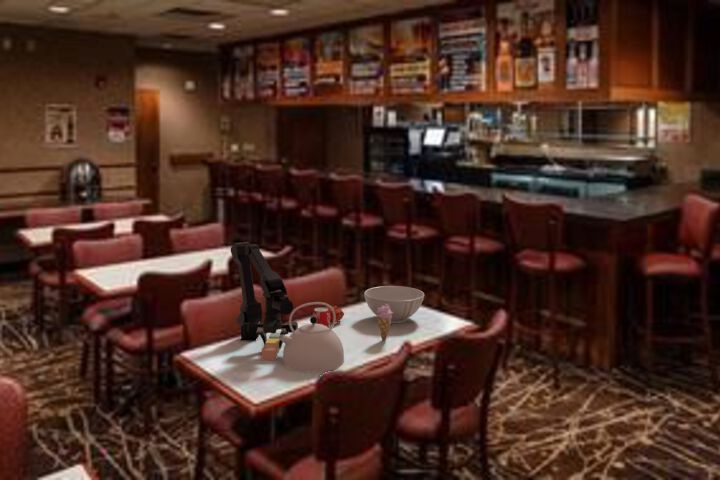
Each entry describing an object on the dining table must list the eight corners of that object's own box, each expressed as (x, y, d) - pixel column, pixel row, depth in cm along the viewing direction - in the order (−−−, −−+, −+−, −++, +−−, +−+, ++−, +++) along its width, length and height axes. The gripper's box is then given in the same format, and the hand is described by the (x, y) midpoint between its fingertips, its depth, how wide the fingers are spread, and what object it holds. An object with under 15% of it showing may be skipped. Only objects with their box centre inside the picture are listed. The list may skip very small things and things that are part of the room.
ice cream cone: (395, 339, 277) (395, 303, 274) (389, 343, 271) (389, 307, 268) (380, 337, 279) (380, 301, 277) (374, 341, 274) (374, 305, 271)
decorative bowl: (426, 328, 291) (426, 301, 289) (363, 327, 292) (363, 300, 289) (421, 311, 318) (421, 286, 316) (364, 310, 318) (364, 285, 316)
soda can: (327, 340, 274) (327, 312, 272) (310, 339, 275) (310, 311, 273) (331, 335, 281) (331, 307, 279) (315, 334, 282) (315, 306, 280)
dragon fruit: (318, 328, 296) (341, 327, 302) (327, 320, 290) (350, 320, 296) (314, 309, 299) (337, 310, 306) (323, 302, 293) (347, 302, 300)
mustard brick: (265, 352, 260) (265, 342, 259) (267, 348, 265) (267, 338, 264) (278, 353, 259) (278, 343, 259) (280, 348, 264) (280, 338, 264)
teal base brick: (269, 346, 268) (269, 336, 267) (271, 342, 272) (271, 332, 272) (281, 346, 267) (281, 336, 267) (283, 342, 272) (283, 332, 272)
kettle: (287, 377, 236) (286, 314, 232) (269, 356, 256) (268, 298, 252) (353, 367, 246) (354, 307, 242) (331, 348, 266) (331, 292, 262)
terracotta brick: (261, 360, 252) (261, 350, 251) (264, 355, 257) (264, 345, 256) (275, 360, 252) (274, 350, 251) (277, 356, 256) (277, 345, 256)
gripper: (243, 314, 252) (244, 354, 254) (294, 315, 251) (294, 355, 254) (249, 306, 262) (250, 344, 265) (297, 307, 262) (298, 345, 265)
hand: (273, 348), depth 262 cm, fingers closed on mustard brick, 5 cm apart
